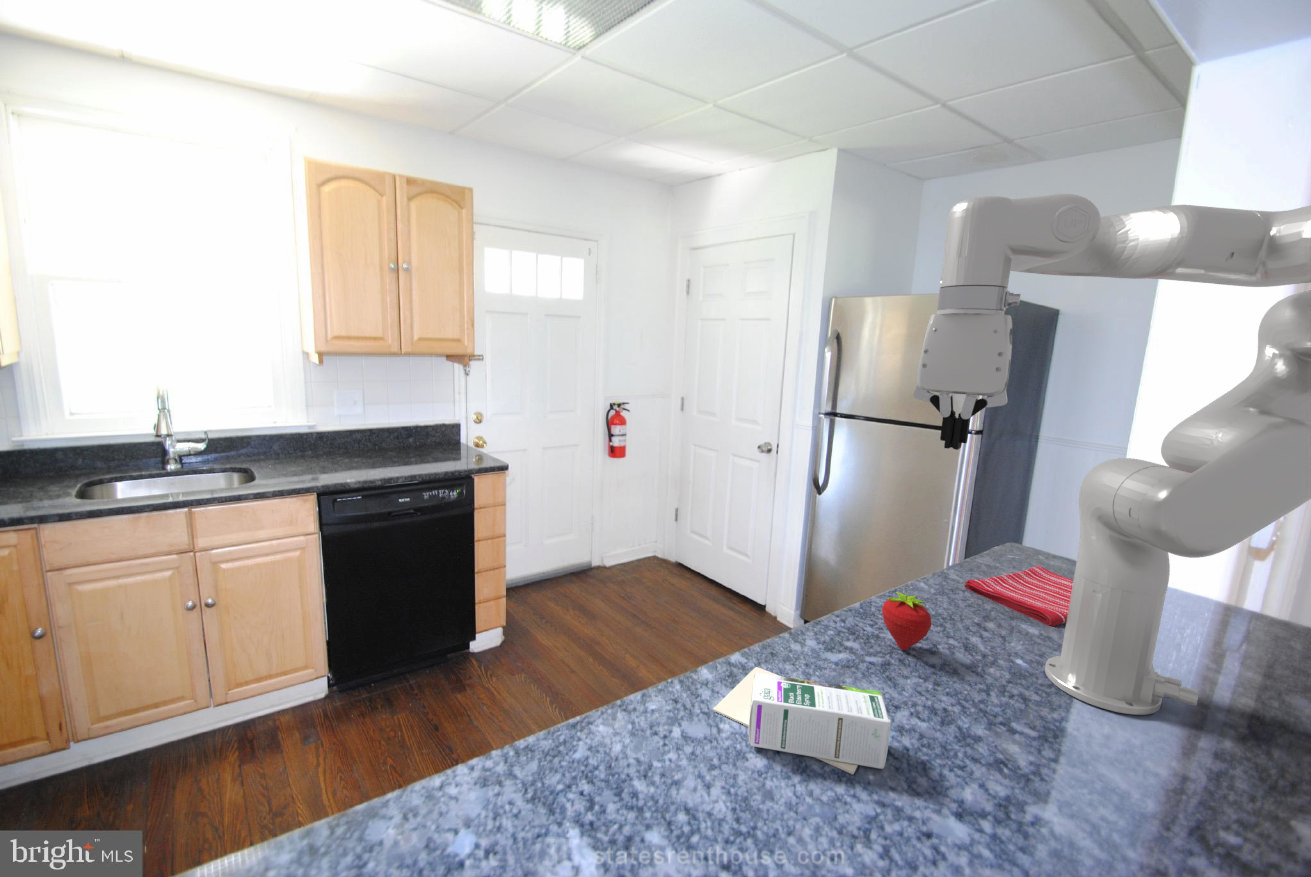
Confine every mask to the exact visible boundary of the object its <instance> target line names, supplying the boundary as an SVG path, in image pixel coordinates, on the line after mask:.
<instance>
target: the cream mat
mask: <svg viewBox="0 0 1311 877" xmlns="http://www.w3.org/2000/svg"><path fill="white" fill-rule="evenodd" d="M755 673H762V674H768V675H775V676H780V675H779V674H776V673H774V672H771V671H769V670H765V669H763V668H761V667H757V666H755V667H754V668H753V669H752V670H751V671H750V672H749V673H748V674H747V675H746V676H745V677H744V678H743V679H742V680H741V681H740V682H739V683H737V684H736V685H735V686H734V688H733V689H731V690H730V691H729V693H727V694H726V695H725V696H724V698H722V699H721V700H720V701H719V702H718V703H717V704H716V705H715V706H714V707H713V708H712V712H714V713H716V712H718V713H719V715H720V714H722V715H723V717H725V716H726V717H725V718H727V717H728V718H727V719H729V718H730V719H729V720H731V719H732V720H731V721H733V720H734V722H736V721H737V722H736V723H738V722H739V724H740V723H741V725H742V724H743V726H744V725H745V726H744V727H747V728H749V717H750V707H751V698H752V688H753V681H754V676H755ZM718 713H717V714H718ZM722 715H721V716H722ZM814 758H815V759H818V760H819V761H822V762H824V763H827V764H828V765H831V766H833V767H835V768H838V769H840V770H842V771H844V772H846V773H849V774H850V775H854V774H855V772H856V770H857V769H858V766H859V765H856V764H851V763H845V762H840V761H834V760H828V759H823V758H817V757H814Z"/></svg>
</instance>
